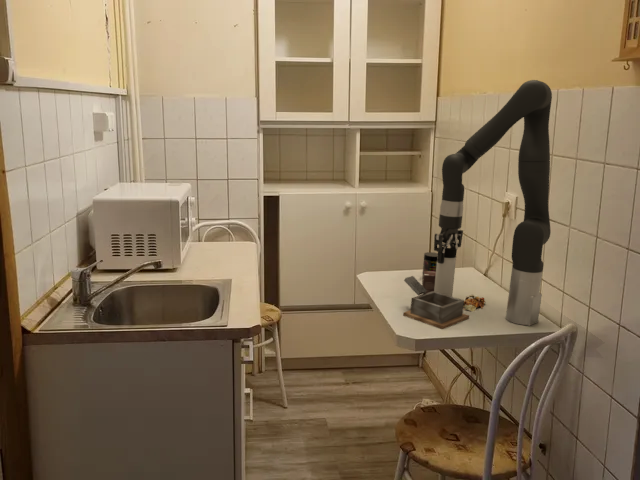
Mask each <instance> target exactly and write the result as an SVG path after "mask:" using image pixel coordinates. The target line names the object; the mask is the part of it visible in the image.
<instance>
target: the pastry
mask: <svg viewBox="0 0 640 480" xmlns="http://www.w3.org/2000/svg"><path fill="white" fill-rule="evenodd" d="M484 304H486V300H485V297H479V295H474V294H470V295H469V296H468V295H467V296H466V297H465V299H464V305H463V311H469V312H475V311H476V310H477V308H479V307H480V308H481V309H484V307H485V305H484Z"/></svg>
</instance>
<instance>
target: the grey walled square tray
mask: <svg viewBox="0 0 640 480" xmlns="http://www.w3.org/2000/svg"><path fill="white" fill-rule="evenodd" d="M464 301H465V299H460V298H457V297H453V296H452V297H451V296H448V295H444V294H441V293H438V292H434V291H432V292H429V293H425V294H421V295H417V296H414V297H411V300H410V302H411V303H410V309H409V310H407V311H404V312H402V313H403V316H404V317H406V318H409V319H413V320H414V321H417V322H421V323H424V324H427V325H429V326H432V327H435V328H438V329H441V330H444V329H446V328H450V327H451V326H454V325H457V324H459V323H461V322H463V321H467V320H468V319H470V315H469V314H467V313H464V312H463V311H464V310H463V305H464Z"/></svg>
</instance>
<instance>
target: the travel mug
mask: <svg viewBox="0 0 640 480" xmlns="http://www.w3.org/2000/svg"><path fill="white" fill-rule="evenodd" d="M443 247H444V246H442V249H443ZM457 250H458V249H455V248H450V247H447V248H446V250H445V256H444V263H443V264H440V263H438V262H437V266H436V277H435V287H434V292H438V293H441V294H444V295H448V296H451V297H453V292H454V283H455V273H456V272H455V271H456V263H457V262H456V261H457Z"/></svg>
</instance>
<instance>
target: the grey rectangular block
mask: <svg viewBox="0 0 640 480" xmlns="http://www.w3.org/2000/svg"><path fill="white" fill-rule="evenodd" d="M403 281H404V283H406V284H407V285H408V286H409V287H410V288H411V290H412V291H413V292H414V293H415V294H416V295H417V296H419V295H422V294H424V293H426V291H427V290H426V289H425V288H424V287H423V286H422V283H421V282H420V281H419V280H418V279H417V278H415V276H414V275H411V276H408V277H405V278H404V280H403Z"/></svg>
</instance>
